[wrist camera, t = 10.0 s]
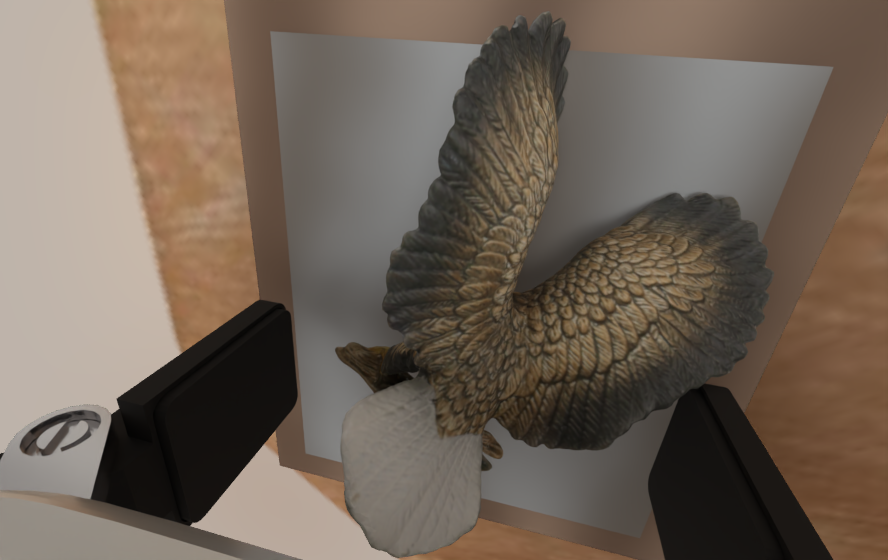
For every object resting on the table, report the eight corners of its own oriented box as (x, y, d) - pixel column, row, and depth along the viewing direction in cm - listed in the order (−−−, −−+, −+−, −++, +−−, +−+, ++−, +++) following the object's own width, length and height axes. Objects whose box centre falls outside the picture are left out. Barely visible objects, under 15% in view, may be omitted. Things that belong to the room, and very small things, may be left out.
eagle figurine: (465, 351, 15) (684, 166, 12) (534, 582, 10) (965, 378, 7) (262, 262, 11) (508, -71, 7) (202, 582, 6) (916, -3, 2)
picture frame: (856, 11, 11) (961, -17, 8) (654, 504, 18) (672, 576, 15) (279, -13, 13) (211, -41, 11) (311, 422, 21) (275, 470, 18)
